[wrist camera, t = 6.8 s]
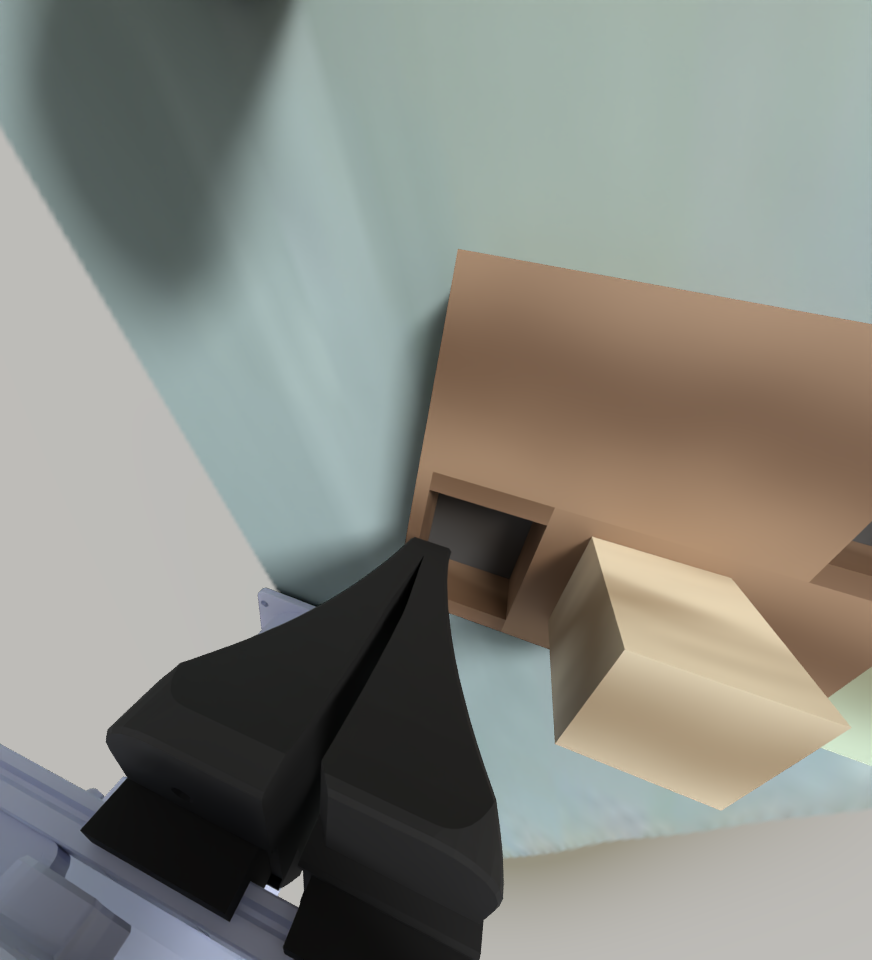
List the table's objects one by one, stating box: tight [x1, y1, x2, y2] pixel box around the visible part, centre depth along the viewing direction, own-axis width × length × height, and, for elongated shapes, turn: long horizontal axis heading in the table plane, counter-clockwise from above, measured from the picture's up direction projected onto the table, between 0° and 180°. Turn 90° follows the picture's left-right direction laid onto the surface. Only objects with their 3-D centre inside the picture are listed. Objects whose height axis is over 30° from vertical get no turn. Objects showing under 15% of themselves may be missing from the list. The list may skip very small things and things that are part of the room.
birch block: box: [548, 537, 851, 810], centre depth 9 cm, size 4×4×4 cm
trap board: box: [405, 249, 872, 766], centre depth 10 cm, size 12×20×2 cm, turn 79°
